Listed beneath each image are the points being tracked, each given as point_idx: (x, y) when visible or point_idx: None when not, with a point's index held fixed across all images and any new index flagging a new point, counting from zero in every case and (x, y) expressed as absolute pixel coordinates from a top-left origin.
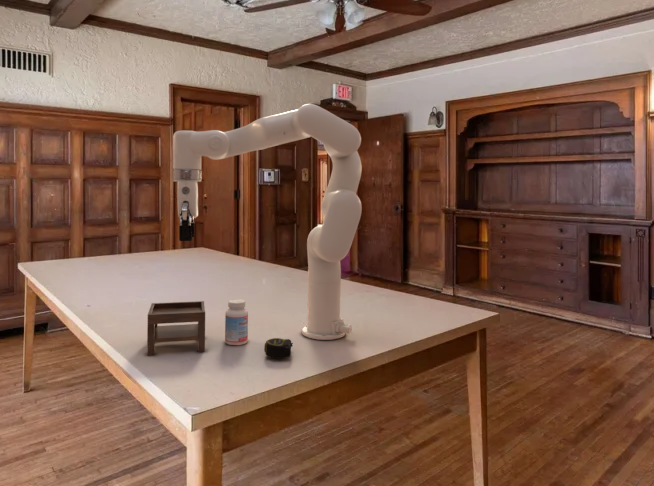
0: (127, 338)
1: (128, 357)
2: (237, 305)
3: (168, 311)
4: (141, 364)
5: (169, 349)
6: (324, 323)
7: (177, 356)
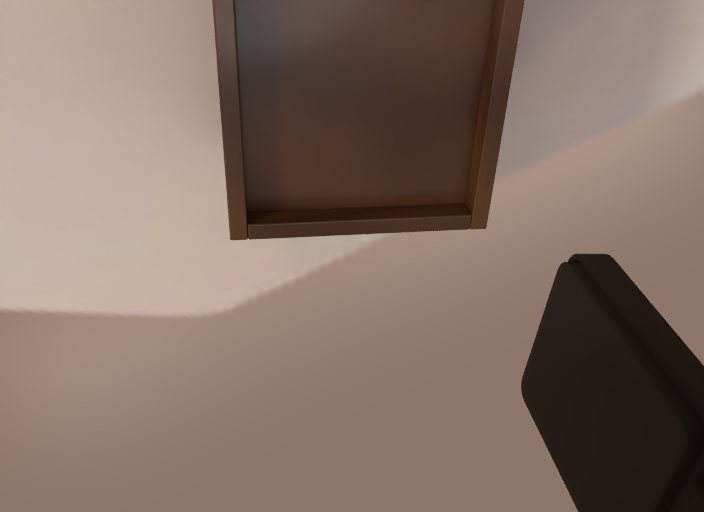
0: (187, 246)
1: None
2: None
3: (338, 130)
4: (520, 151)
5: None
6: None
7: None
